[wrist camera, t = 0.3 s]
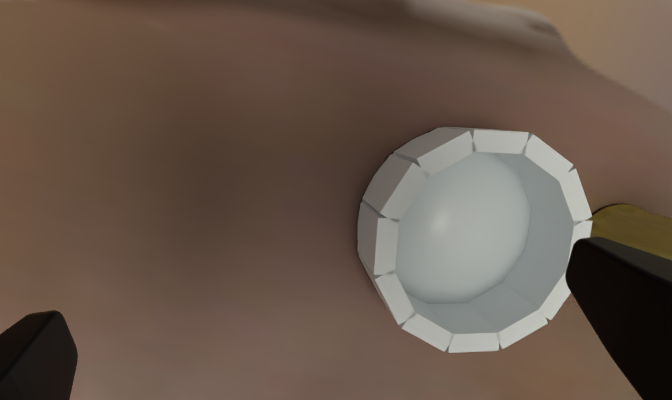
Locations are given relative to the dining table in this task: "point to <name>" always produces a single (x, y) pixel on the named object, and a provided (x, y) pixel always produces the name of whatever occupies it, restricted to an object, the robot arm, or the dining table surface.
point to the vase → (634, 229)
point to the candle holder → (472, 235)
